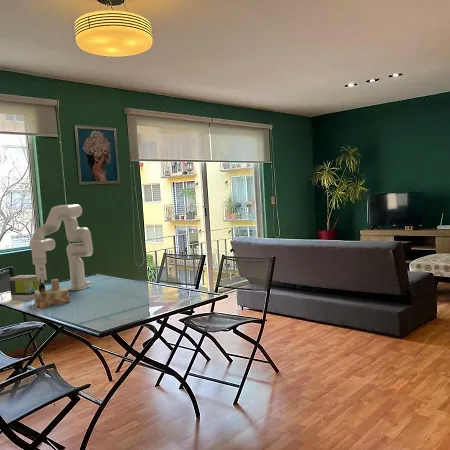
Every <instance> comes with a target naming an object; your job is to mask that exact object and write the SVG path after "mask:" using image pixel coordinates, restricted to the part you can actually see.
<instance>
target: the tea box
mask: <svg viewBox="0 0 450 450" xmlns="http://www.w3.org/2000/svg"><path fill="white" fill-rule="evenodd" d="M8 278H9V279H8V280H9V287H10V288H9V289H10V299H11V301H33V300H35V293H34V292H35V291H36V290H39V281H38V280H37V277H36V274H25V275H24V274H20V275H16V276H13V277H8Z"/></svg>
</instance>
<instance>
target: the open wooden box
mask: <svg viewBox="0 0 450 450" xmlns="http://www.w3.org/2000/svg"><path fill="white" fill-rule="evenodd" d="M34 293H35V292H34ZM46 295H47V296H45V297H43V296H42V295H41V294H39V296H36V294H35V299H34V300H35V301H34V302H35V303H34V304H35V306H36V308H40V309H47V308H49V307H50V306H56V305H62V304H69V303H70V295H69V290H68V291H66V292H60V293H53V294H47V293H46Z"/></svg>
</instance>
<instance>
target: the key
mask: <svg viewBox="0 0 450 450" xmlns="http://www.w3.org/2000/svg"><path fill="white" fill-rule="evenodd" d="M41 295H42V296H43V297H45V296H47V295H46V292H45V290H44V289H41Z"/></svg>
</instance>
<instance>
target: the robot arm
mask: <svg viewBox="0 0 450 450" xmlns="http://www.w3.org/2000/svg"><path fill="white" fill-rule="evenodd" d="M82 214H83V207H82V206H81V205H80V204H77V203H75V204H60V205H55V206H53V207H51V209H50V211H49V213H48V216H47V218H46V221H45V223H44V224H42V225H41V226H40V227H39V228H38V229H37V230H35V231H34V232H33V234H32V237H31V240H30V243H29V247H30V249H31V259H32V265H34V266H35V275H36V277H37V280H38V281H39V292H40V293H41V289H44V290H45V289H46V285H45V281H47V280H48V279H47V278H48V277H47V269H46V264H47V263H48V261H47V251H53V250H54V249H55V248H56V244H57V242H56V241H55V239H54V238H51V237H49V238H48V237H47V238H46V236H48V235H52V234H53V233H55V232H57V231H58V230H59V229H60V227H61V224H62V222H63V224H64V228H65V235H66V239H67V241H68V242H72V243H69V244H68V245H67V246H66V248H65V249H66V255H67V258H68V266H69V277H70V279H69V280H70V286H69V287H68V291H69V290H70V291H81V290H86V289H88V288H89V286H88V285H93V281H86V278H85V277H86V274H85V263H84V259H82V258H81V257H91V256H92V255H93V253H94V248H93V240H92V239H93V238H92V234H91V231H90V229H89V228H88V227H84V226H83V227H80V226H79V224H78V223H79V222H78V220H77V218H79V217H81V216H82Z"/></svg>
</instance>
